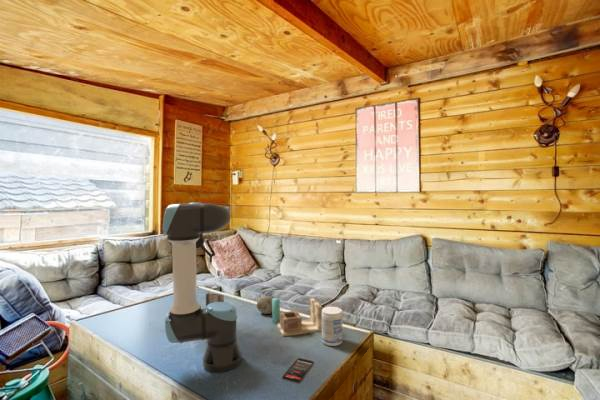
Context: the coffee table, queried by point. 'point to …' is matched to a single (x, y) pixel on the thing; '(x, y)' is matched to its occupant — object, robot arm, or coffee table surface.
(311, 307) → the jig
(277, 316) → the dowel
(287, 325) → the block
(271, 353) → the coffee table surface
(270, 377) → the coffee table surface
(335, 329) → the supplement tub
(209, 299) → the ruin model on sheet
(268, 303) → the decorative stone
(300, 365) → the smartphone
